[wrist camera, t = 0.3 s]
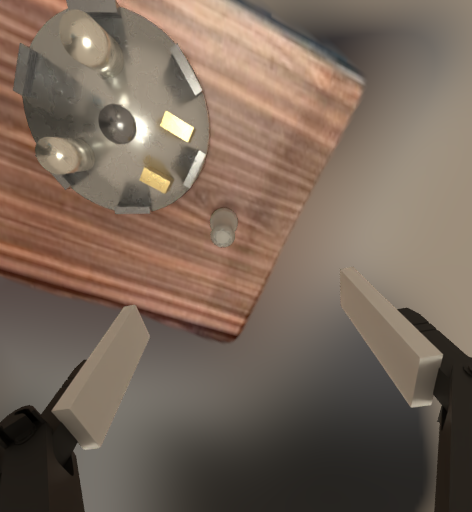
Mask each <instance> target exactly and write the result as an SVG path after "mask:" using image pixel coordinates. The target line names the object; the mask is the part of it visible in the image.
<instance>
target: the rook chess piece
mask: <svg viewBox="0 0 472 512" xmlns="http://www.w3.org/2000/svg"><path fill="white" fill-rule="evenodd" d="M237 226H238V218H237V216H236V214H235V213H234V212H233V211H232V210H230V209H227V208H220V209H218V210H215V211H214V213H213V214H212V215H211V218H210V227H211V229H212V231H211V240H212V242H213V243H214V244H215V245H216V246H218V247H227V246H230V245H231V244H232V243H233V242H234V239H235V233H234V232H235V231H236V228H237Z"/></svg>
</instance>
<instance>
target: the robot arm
mask: <svg viewBox="0 0 472 512" xmlns="http://www.w3.org/2000/svg"><path fill="white" fill-rule="evenodd" d="M340 291H341V292H340V296H341V297H340V300H341V301H340V302H341V307H342V308H343V310H344V311H345V313H346V314H347V315H348V317H349V318H350V320H351V321H352V323H353V324H354V325H355V327H356V328H357V330H358V331H359V333H360V334H361V336H362V337H363V338H364V340H365V341H366V343H367V344H368V346H369V347H370V349H371V350H372V352H373V353H374V354H375V356H376V357H377V359H378V360H379V362H380V363H381V365H382V366H383V367H384V369H385V370H386V372H387V373H388V375H389V376H390V378H391V379H392V380H393V382H394V383H395V385H396V386H397V388H398V389H399V391H400V392H401V394H402V395H403V396H404V398H405V399H406V401H407V402H408V404H409V405H410V407H418V406H426V405H431V404H432V399H433V395H434V396H435V397H436V398H437V400H438V401H439V402H440V403H441V404H442V406H441V410H440V414H439V417H438V421H437V422H439V423H440V427H439V444H438V460H437V476H436V492H435V509H434V512H472V358H471V357H468V356H467V355H466V354H464V353H463V352H462V351H461V350H460V349H459V348H458V347H457V346H455V345H454V344H453V343H452V342H451V341H450V340H449V339H447V338H446V337H445V336H444V335H443V334H442V333H441V332H440V331H438V330H436V328H435V327H434V326H433V325H432V324H429V322H428V321H427V320H426V319H425V318H424V317H422V316H421V315H420V314H419V313H416V312H415V311H413V310H411V309H409V308H402V309H396V308H395V307H394V306H393V305H391V303H389V301H388V300H386V298H384V297H383V296H382V295H381V294H380V293H379V292H378V291H377V290H376V289H375V288H374V287H373V286H372V285H371V284H370V283H369V282H368V281H367V280H366V279H365V278H364V277H363V276H362V275H361V274H360V273H359V272H357V270H356V269H355V268H354V267H349V268H343V269H340ZM149 338H150V335H149V333H148V331H147V329H146V327H145V325H144V322H143V320H142V318H141V316H140V314H139V312H138V309H137V307H136V305H131V306H126V307H124V308H123V309H122V311H121V312H120V313H119V315H118V316H117V318H116V319H115V321H114V322H113V324H112V325H111V326H110V328H109V329H108V331H107V332H106V334H105V335H104V336H103V338H102V339H101V341H100V342H99V344H98V345H97V346H96V348H95V349H94V351H93V352H92V354H91V355H90V356H89V358H88V359H87V360H83V361H82V362H81V363H80V364H79V365H78V366H77V367H76V368H75V369H74V370H73V371H72V373H71V374H70V376H69V377H68V380H66V381H65V382H64V384H63V385H62V388H60V389H59V391H58V392H57V393H56V395H55V396H54V398H53V399H52V400H51V402H50V403H49V404H48V406H47V407H46V409H45V410H44V411H43V413H42V414H41V415H40V413H39V412H38V411H37V410H36V409H35V408H34V407H33V406H30V405H28V406H24V407H21V408H19V409H17V410H15V411H14V412H12V413H11V414H9V415H8V416H7V417H6V418H5V419H3V420H2V421H1V422H0V512H85V511H84V504H83V499H82V491H81V485H80V478H79V472H78V465H77V459H76V455H75V453H74V452H73V450H74V448H75V446H76V444H77V442H78V443H79V445H80V446H82V448H83V449H84V450H87V449H94V448H100V447H101V445H102V443H103V441H104V438H105V436H106V434H107V432H108V429H109V427H110V425H111V423H112V421H113V418H114V416H115V414H116V411H117V409H118V407H119V405H120V403H121V400H122V398H123V396H124V394H125V391H126V389H127V387H128V385H129V382H130V380H131V378H132V375H133V373H134V371H135V369H136V367H137V365H138V362H139V360H140V358H141V355H142V354H143V351H144V349H145V347H146V345H147V342H148V340H149Z"/></svg>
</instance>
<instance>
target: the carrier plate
mask: <svg viewBox="0 0 472 512" xmlns="http://www.w3.org/2000/svg"><path fill="white" fill-rule="evenodd" d="M66 1H67V6H68V9H66V10H64V11H62V12H60V13H58V14H56V15H55V16H54V17H53V18H51V19H50V20H49V21H47V22H46V24H45V25H44V26H43V27H42V28H41V29H40V30H39V31H38V33H37V35H36V36H35V38H34V40H33V41H32V43H31V45H30V47H28V46H26V45H24V44H22V43H20V46H19V53H18V60H17V67H16V74H15V81H14V87H13V91H15V92H17V93H18V94H20V95H22V98H23V104H24V110H25V114H26V118H27V122H28V125H29V128H30V130H31V133H32V136H33V138H34V140H35V142H36V147H35V152H36V155H35V156H36V157H37V159H38V161H39V163H40V164H41V165H42V166H43V167H44V168H45V169H46V170H47V171H49V172H50V173H51V174H52V175H53V176H54V177H55V178H56V180H57V181H58V182H59V183H60V184H61V185H62V186H63V187H64V189H65V190H66V189H70V188H72V189H73V190H74V191H76V192H77V193H79V194H80V195H82V196H83V197H84V198H86V199H88V200H90V201H92V202H93V203H95V204H98V205H100V206H102V207H105V208H108V209H111V210H115V214H150V213H152V212H153V211H155V210H158V209H161V208H163V207H166V206H168V205H169V204H171V203H173V202H175V201H176V200H177V199H179V198H180V197H181V196H182V195H183V194H184V193H185V192H186V191H187V190H188V189H189V188H191V186H192V185H193V183H194V182H195V181H196V179H197V178H198V176H199V174H200V172H201V170H202V168H203V165H204V163H205V160H206V156H207V152H208V146H209V139H210V124H209V115H208V109H207V105H206V100H205V97H204V94H203V91H202V88H201V86H200V83H199V81H198V79H197V77H196V75H195V73H194V70H193V69H192V67H191V65H190V64H189V62H188V60H187V59H186V57H185V56H184V54H183V53H182V51H181V49H180V48H179V46H178V44H175V43H174V42H173V41H172V40H171V39H170V38H169V37H168V36H167V35H166V34H165V33H164V32H163V31H162V30H161V29H160V28H158V27H157V26H156V25H155V24H153V23H152V22H150V21H149V20H147V19H146V18H144V17H142V16H141V15H139V14H137V13H134V12H132V11H130V10H128V9H125V8H122V7H120V5H119V4H118V3H117V1H116V0H66Z"/></svg>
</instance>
